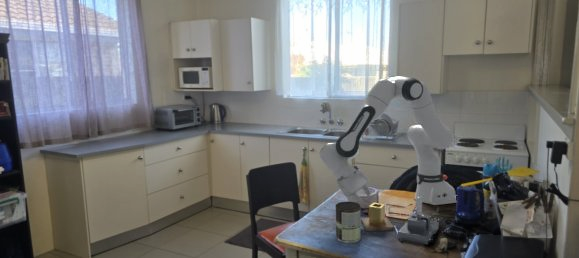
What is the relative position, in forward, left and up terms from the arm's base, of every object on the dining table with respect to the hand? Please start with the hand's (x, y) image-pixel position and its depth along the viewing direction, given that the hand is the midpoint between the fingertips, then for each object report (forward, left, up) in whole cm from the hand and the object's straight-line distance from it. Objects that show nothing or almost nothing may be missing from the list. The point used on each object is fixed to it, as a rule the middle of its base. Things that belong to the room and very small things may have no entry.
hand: (365, 197), depth 185 cm
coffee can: (+11, +15, -12) cm, 22 cm away
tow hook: (-7, -9, -12) cm, 17 cm away
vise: (-19, +14, -12) cm, 27 cm away
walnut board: (-4, +3, -12) cm, 13 cm away
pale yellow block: (-4, +3, -11) cm, 12 cm away
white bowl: (-3, -23, -12) cm, 26 cm away
